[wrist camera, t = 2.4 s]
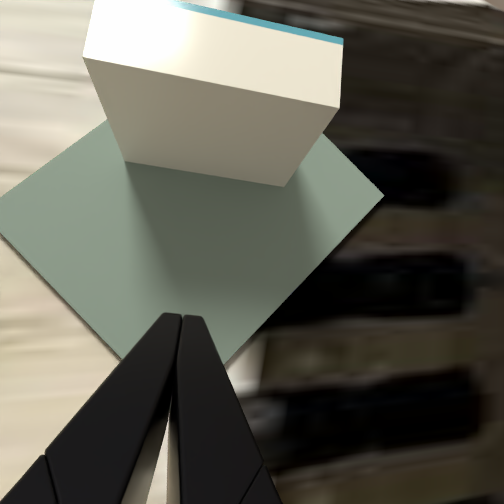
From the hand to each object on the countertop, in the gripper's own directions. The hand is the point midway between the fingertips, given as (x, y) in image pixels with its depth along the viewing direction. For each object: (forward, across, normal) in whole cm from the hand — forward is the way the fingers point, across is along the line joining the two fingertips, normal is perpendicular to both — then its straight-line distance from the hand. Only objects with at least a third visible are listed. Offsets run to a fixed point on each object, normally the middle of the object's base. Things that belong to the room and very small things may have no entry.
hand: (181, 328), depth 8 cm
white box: (+15, 0, +1) cm, 15 cm away
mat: (+13, 0, +4) cm, 13 cm away
